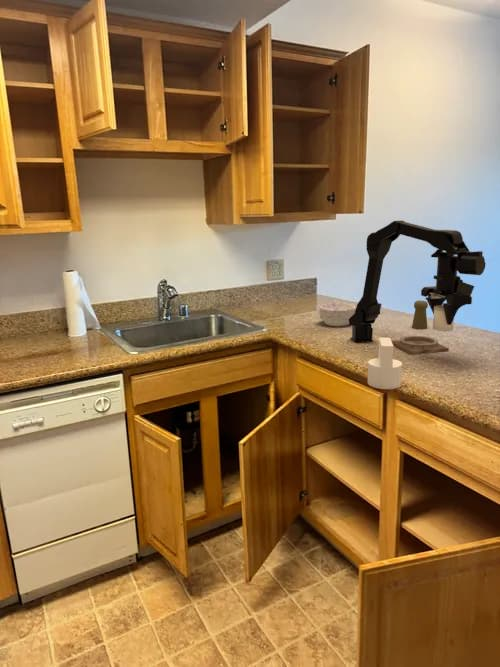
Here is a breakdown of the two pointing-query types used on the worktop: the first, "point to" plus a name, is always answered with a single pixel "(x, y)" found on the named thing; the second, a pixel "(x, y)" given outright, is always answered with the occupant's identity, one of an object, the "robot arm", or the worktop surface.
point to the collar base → (415, 351)
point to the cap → (441, 319)
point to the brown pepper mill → (420, 315)
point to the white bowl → (336, 313)
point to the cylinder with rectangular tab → (384, 367)
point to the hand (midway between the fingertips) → (443, 322)
